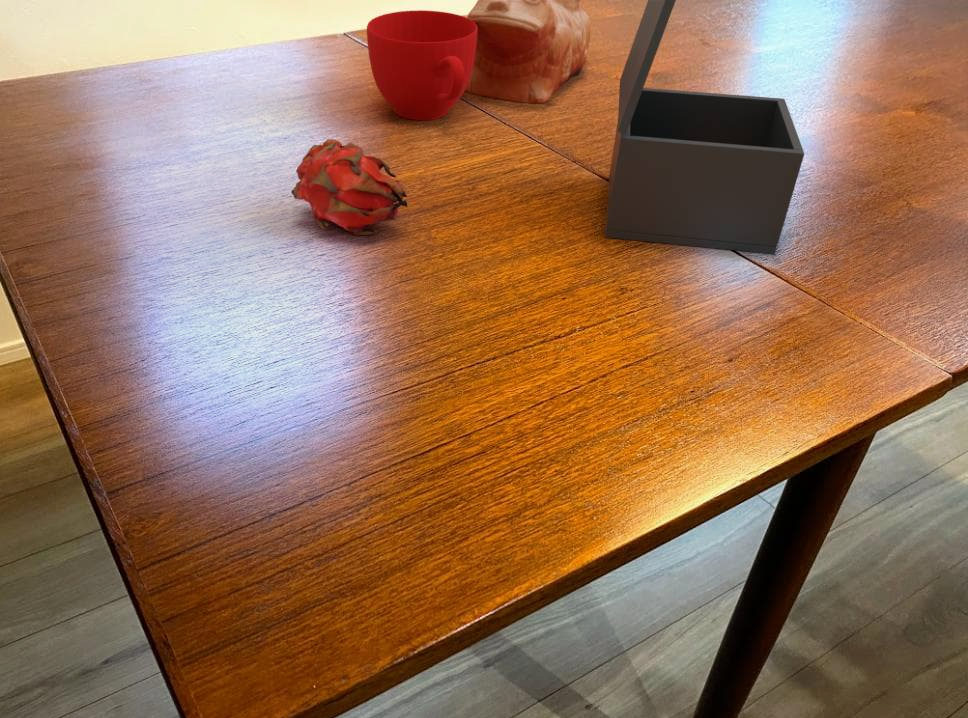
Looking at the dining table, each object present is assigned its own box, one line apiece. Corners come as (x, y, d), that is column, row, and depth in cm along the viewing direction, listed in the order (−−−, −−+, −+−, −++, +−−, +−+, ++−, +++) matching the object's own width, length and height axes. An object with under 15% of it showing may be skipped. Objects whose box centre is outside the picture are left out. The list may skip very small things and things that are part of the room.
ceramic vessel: (435, 101, 111) (438, -28, 102) (509, 44, 130) (518, -69, 120) (539, 120, 107) (552, -13, 97) (600, 58, 125) (616, -58, 116)
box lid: (692, -100, 77) (631, -117, 77) (701, -69, 67) (630, -88, 67) (627, 82, 88) (573, 67, 88) (625, 134, 77) (564, 116, 77)
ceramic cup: (405, 150, 99) (405, 59, 93) (353, 99, 111) (350, 16, 105) (507, 133, 103) (513, 45, 97) (446, 86, 115) (449, 5, 109)
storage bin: (759, 191, 92) (784, 98, 86) (774, 254, 82) (804, 153, 76) (608, 178, 94) (622, 85, 88) (605, 237, 84) (620, 137, 78)
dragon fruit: (300, 217, 89) (400, 263, 86) (258, 199, 81) (366, 249, 78) (333, 138, 88) (436, 181, 85) (293, 112, 80) (405, 159, 77)
